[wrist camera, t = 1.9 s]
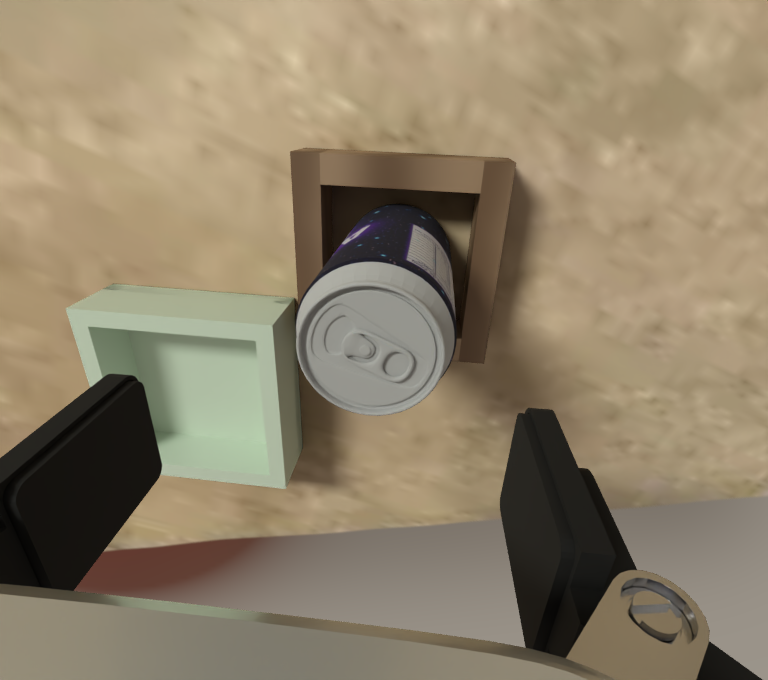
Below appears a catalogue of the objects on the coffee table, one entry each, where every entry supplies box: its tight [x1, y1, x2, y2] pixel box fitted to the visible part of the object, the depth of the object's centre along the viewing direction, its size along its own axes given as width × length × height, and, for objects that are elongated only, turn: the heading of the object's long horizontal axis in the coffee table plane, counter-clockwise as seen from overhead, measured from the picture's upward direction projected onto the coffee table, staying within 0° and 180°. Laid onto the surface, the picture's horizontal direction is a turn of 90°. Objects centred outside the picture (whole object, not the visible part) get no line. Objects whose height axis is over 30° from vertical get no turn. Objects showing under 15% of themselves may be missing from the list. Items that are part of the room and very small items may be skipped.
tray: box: [66, 284, 303, 489], centre depth 28 cm, size 12×12×4 cm
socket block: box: [290, 148, 516, 364], centre depth 24 cm, size 10×10×2 cm
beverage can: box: [295, 204, 457, 416], centre depth 20 cm, size 6×6×12 cm
